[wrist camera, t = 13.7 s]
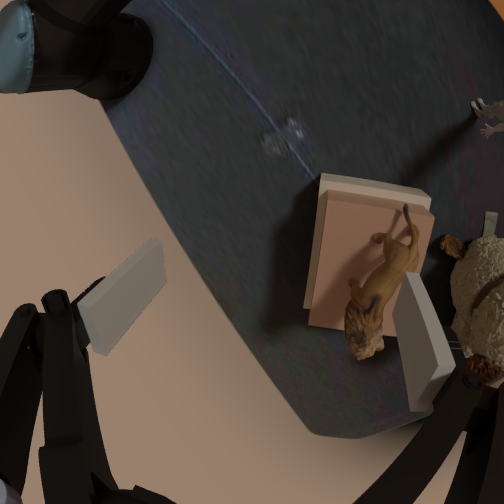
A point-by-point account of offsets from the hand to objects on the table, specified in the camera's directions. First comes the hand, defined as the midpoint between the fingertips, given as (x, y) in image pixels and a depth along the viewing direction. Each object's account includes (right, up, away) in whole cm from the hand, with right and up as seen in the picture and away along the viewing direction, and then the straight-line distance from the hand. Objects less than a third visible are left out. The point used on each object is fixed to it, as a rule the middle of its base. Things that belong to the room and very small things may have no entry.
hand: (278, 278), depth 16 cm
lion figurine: (+13, 0, +17) cm, 21 cm away
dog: (+34, -1, +23) cm, 41 cm away
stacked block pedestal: (+14, +3, +26) cm, 30 cm away
